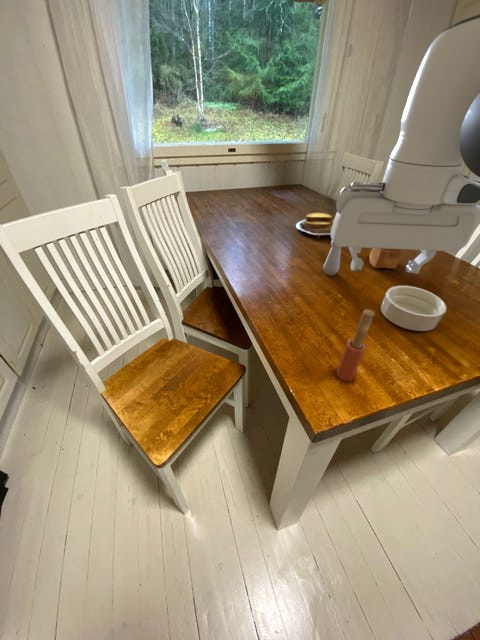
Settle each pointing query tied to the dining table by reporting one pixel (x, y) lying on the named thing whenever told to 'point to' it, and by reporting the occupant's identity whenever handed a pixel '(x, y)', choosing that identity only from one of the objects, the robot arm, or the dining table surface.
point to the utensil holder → (350, 361)
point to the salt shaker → (333, 260)
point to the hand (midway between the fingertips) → (383, 270)
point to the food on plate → (316, 224)
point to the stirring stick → (362, 329)
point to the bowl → (413, 308)
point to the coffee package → (385, 257)
